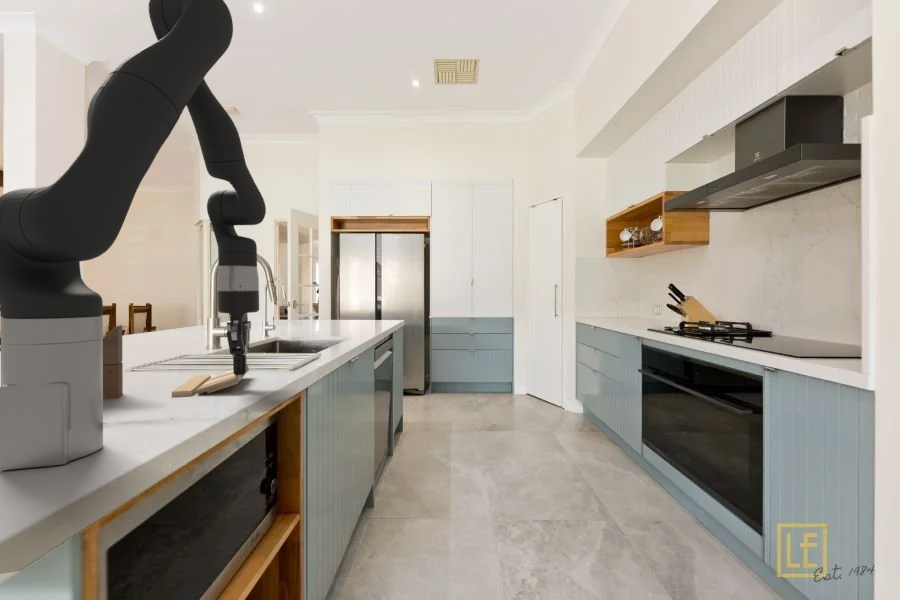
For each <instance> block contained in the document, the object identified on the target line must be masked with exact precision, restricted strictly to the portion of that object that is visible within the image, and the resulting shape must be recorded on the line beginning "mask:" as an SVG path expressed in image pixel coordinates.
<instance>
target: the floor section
mask: <svg viewBox="0 0 900 600" xmlns="http://www.w3.org/2000/svg"><path fill="white" fill-rule="evenodd" d="M211 375H212V374H206V375H205V374H204V375H203V374H202V375H193V376H192V377H191V378H189V379H188V380H187V381H185V382H184V383H182V384H181V385H179V386H178V387H176V388H175V389H174V390H172V391H171V398H174V397H188V396H189V397H190V396H193V395H195V393H197V391H196V390H197V389H198V388H199V387H200V386H202V385H203V384H204V383H205V382H207V381H208V380H209V379H210V378H211V377H212V376H211Z"/></svg>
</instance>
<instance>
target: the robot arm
mask: <svg viewBox="0 0 900 600" xmlns="http://www.w3.org/2000/svg"><path fill="white" fill-rule="evenodd" d="M147 9H148V16H149V20H150V23H151V27H152V29H153V32H154V35H155V37H156V39H157V41H155V42H154V43H152V44H150V45H149V46H148V45H147V46H146V47H145V48H143V49H140V50H139V51H138V52H136V53H134V54H132V55H131V56H129V57H128V58H126V59H125V60H123V61H121V62H120V63H119V64H118V65H116V66H115V67H114V68H113V69H112V70H111V71H110V73H109V74H108V75H107V76H106V77H105V78H104V80H103V82H102V83H101V84H100V86H99V87H98V89H97V90H96V91H95V93H94V94H93V96H92V97H91V100H90V102H89V105H88V109H87V115H86V128H87V129H86V131H87V134H86V136H87V137H86V141H85V144H84V146H83V148H82V150H81V152H80V153H79V154H78V156H77V157H76V159H74V161H73V162H72V164H70V166H69V167H68V169H67V170H66V171H65V172H64V173H63V174H62V175H61V176H60V177H59V178H58V179H57V180H56V181H55V182H54V183H52V184H50V185H49V186H48V185H47V186H39V187H38V186H36V187H27V188H26V187H25V188H18V189H14V190H11V191H8V192H5V193H4V194H2V195H1V196H0V471H7V470H18V469H29V468H38V467H40V468H41V467H49V466H51V467H52V466H57V465H58V466H59V465H65V464H68V463H69V462H71V461H73V460H76V459H80V458H83V457H85V456H88V455H90V454H93V453H95V452H97V451H98V450H100V449H101V448H103V446H104V415H103V414H104V411H103V410H104V408H103V407H104V399H103V337H104V333H103V332H104V331H103V329H104V327H103V326H104V325H103V324H104V319H103V318H104V316H103V315H104V314H103V313H104V312H103V311H104V309H103V307H104V306H103V298H102V296H101V294H99V293H98V292H96V291H94V290H93V289H91V288H90V287H88V286H87V284H86V283H85V281H84V280H83V278H82V275H81V274H82V273H81V264H80V263H81V262H86V261H91V260H93V259H96V258H99V257H100V256H102V255H103V254H104V253H106V252H107V251H108V250H109V249H110V248H111V247H112V246H113V244H114V243H115V242H116V240H117V238H118V236H119V234H120V232H121V230H122V228H123V225H124V222H125V220H126V217H127V215H128V212H129V210H130V208H131V205H132V203H133V201H134V198H135V195H136V193H137V190H138V189H139V186H140V185H141V183H142V180H144V177H146V174H147V173H148V171H149V169H150V168H151V165H152V164H153V162H154V160H155V159H156V157H157V155H158V153H159V152H160V150H161V148H162V146H163V145H164V144H165V142H166V141H167V140H168V138H169V136H170V135H171V133H172V131H173V130H174V128H175V127H176V125H177V123H178V121H179V119H180V117H181V115H182V113H184V109H185V108H187V110H188V113H189V115H190V118H191V120H192V124H193V126H194V129H195V132H196V136H197V141H198V142H199V147H200V150H201V154H202V157H203V161H204V164H205V168H206V171H207V174H208V175H209V176H210V177H211V178H214V179H218V180H223V181H225V182H228V183H229V184H230V185H231V186H232V188H233V189H218V190H215V191H213V192H212V193H211V194H210V195H209V197H208V199H207V202H206V211H207V215H208V218H209V222H210V224H211V227H212V230H213V233H214V238H215V241H216V245H217V253H218V254H217V258H218V261H217V262H218V266H217V267H218V268H217V277H216V278H217V280H216V285H217V287H216V288H217V289H216V290H217V292H216V293H217V311H218V313H220V314H229V315H230V316H229V321H228V322H226V333H225V335H226V338H227V343H228V344H227V345H228V348H229V353H230V355H231V357H233V358H232V360H233V361H232V362H233V363H232V364H233V365H232V366H233V367H232V369H233V372H234V375H244V374H245V373H246V371H247V365H248V364H247V355H248V353H249V349H250V342H251V330H252V321H251V320H249V319H248V318H249V317H248V314H250V313H258V312H259V310H260V283H259V282H260V278H259V272H258V250H257V249H258V247H257V243H256V241H255V240H254V239H252V238H250V237H246V236H241V235H238V233H237V232H236V229H235V226H256V225H259V224H261V223H262V222H263V221H264V219H265V216H266V211H267V208H266V203H265V200H264V198H263V195H262V193H261V191H260V190H259V188H258V186H257V184H256V182H255V180H254V179H253V176H252V174H251V172H250V170H249V168H248V166H247V162H246V159H245V154H244V150H243V146H242V140H241V138H240V134H239V131H238V128H237V127H236V124H235V123H234V121H233V119H232V117H231V116H230V115H229V113H228V112H227V111H226V109H225V108H224V106H223V105H222V104H221V103H220V102H219V100H218V99H217V97H216V96H215V94H213V93H214V92H212V90H211V88H210V87H209V85H208V84H207V82H206V79H205V78H206V76H207V75H208V73H209V72H210V71H211V69H212V68H213V67H214V66H215V65H216V64H217V62H218V61H219V60H220V59H221V57H222V56H223V55H224V54H225V53H226V52H227V50H228V49H229V47H230V45H231V42H232V39H233V34H234V22H233V17H232V14H231V11H230V8H229V7H228V5H227V4H226V2H225V0H148V5H147ZM246 374H247V373H246ZM246 374H245V375H246ZM245 375H244V376H245Z"/></svg>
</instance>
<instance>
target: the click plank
mask: <svg viewBox="0 0 900 600" xmlns="http://www.w3.org/2000/svg"><path fill="white" fill-rule="evenodd" d="M249 371H250V367H249V365H248V364H247V371H246V373H245V374H244V375H234V372H233V368H232V369H228V370H224V371H221V372H218V373H216V374H213V376H211V378H210V379H209V380H208V381H207V382H205V383H204V384H203V385H202V386H200V387H199V388H198V389H197V390H196V394H197V395H201V394H204V393H207V394H211V393H214V392H216V391H220V390H224V389H226V388H229V387H232V386H235V385H238V384H239V383H240V382H241V380H242V379H243V378H244V377H245V376H246V375H247V373H248V372H249Z"/></svg>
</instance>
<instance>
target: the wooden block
mask: <svg viewBox="0 0 900 600" xmlns="http://www.w3.org/2000/svg"><path fill="white" fill-rule="evenodd" d="M123 368H124V367H123V324H119V325H117V326H115V327H114V328H113V329H112V330H111V331H109V332H108V333H107V334H106V335H104V336H103V400H112V399H119V398H121V397H122V396H123V392H124V391H123V389H124V388H123V387H124V386H123V385H124V384H123V378H124V377H123V373H124V371H123Z"/></svg>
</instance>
